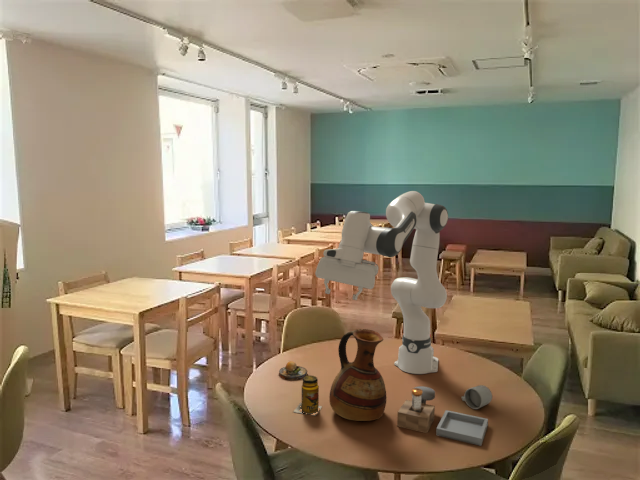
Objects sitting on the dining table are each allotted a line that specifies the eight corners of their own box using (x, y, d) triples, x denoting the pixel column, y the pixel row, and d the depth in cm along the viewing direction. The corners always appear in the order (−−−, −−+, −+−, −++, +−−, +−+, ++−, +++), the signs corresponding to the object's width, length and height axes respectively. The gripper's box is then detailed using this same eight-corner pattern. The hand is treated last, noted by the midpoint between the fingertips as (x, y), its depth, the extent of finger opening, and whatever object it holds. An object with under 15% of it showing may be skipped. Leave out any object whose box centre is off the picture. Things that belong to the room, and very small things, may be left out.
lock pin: (412, 419, 170) (413, 387, 169) (422, 421, 169) (423, 389, 167) (409, 424, 167) (410, 391, 166) (419, 426, 166) (420, 393, 164)
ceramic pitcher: (371, 434, 161) (373, 344, 157) (318, 417, 171) (318, 333, 167) (395, 410, 177) (397, 328, 173) (345, 396, 188) (347, 319, 184)
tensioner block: (412, 404, 182) (412, 384, 181) (439, 409, 177) (440, 389, 176) (397, 426, 166) (397, 404, 165) (426, 433, 161) (427, 411, 160)
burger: (312, 376, 206) (312, 359, 206) (288, 383, 200) (288, 365, 199) (297, 367, 216) (297, 350, 215) (273, 373, 210) (273, 356, 209)
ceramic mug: (493, 405, 181) (494, 386, 180) (481, 412, 176) (481, 392, 175) (469, 396, 189) (469, 378, 188) (456, 402, 184) (457, 383, 183)
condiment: (315, 416, 172) (316, 383, 171) (293, 412, 175) (293, 379, 173) (322, 406, 179) (322, 375, 178) (300, 403, 182) (300, 372, 180)
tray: (445, 416, 173) (445, 410, 172) (487, 425, 167) (488, 418, 166) (436, 435, 160) (436, 428, 160) (481, 446, 154) (481, 438, 154)
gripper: (380, 263, 170) (371, 303, 168) (322, 251, 173) (313, 290, 172) (379, 262, 164) (370, 303, 162) (319, 249, 167) (310, 289, 166)
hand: (340, 296), depth 167 cm, fingers open, 8 cm apart
